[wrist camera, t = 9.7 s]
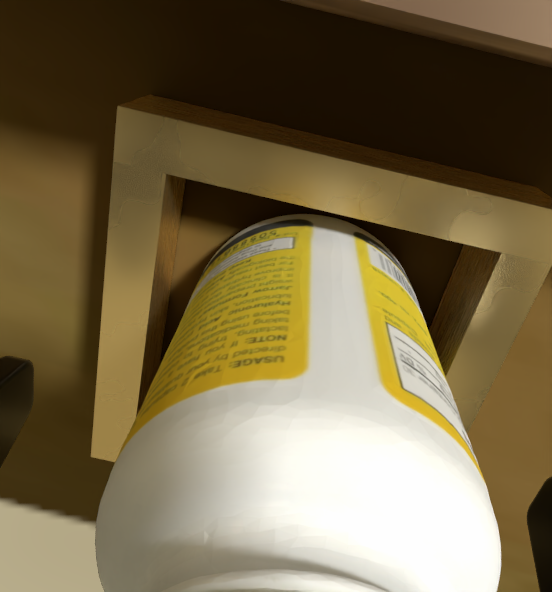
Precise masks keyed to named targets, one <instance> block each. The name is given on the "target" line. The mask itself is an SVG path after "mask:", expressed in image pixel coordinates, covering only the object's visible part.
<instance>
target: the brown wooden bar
mask: <svg viewBox="0 0 552 592" xmlns="http://www.w3.org/2000/svg"><path fill="white" fill-rule="evenodd" d="M280 1H284V2H288V3H292V4H296V5H300V6H304V7H309V8H313V9H317V10H321V11H325V12H329V13H333V14H337V15H341V16H345V17H349V18H353V19H357V20H361V21H365V22H369V23H373V24H377V25H381V26H385V27H389V28H393V29H397V30H401V31H405V32H409V33H413V34H417V35H421V36H425V37H429V38H433V39H437V40H441V41H445V42H450V43H454V44H458V45H462V46H466V47H470V48H474V49H478V50H482V51H486V52H490V53H494V54H498V55H502V56H506V57H510V58H514V59H518V60H522V61H526V62H530V63H534V64H538V65H542V66H546V67H550V68H552V0H280Z"/></svg>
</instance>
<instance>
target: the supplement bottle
mask: <svg viewBox="0 0 552 592" xmlns="http://www.w3.org/2000/svg"><path fill="white" fill-rule="evenodd" d="M95 545H96V559H97V566H98V573H99V577H100V580H101V584H102V586H103V589H104V591H105V592H496V591H497V587H498V582H499V578H500V571H501V544H500V537H499V531H498V525H497V522H496V519H495V515H494V512H493V508H492V505H491V502H490V498H489V494H488V490H487V486H486V484H485V481H484V478H483V476H482V473H481V471H480V468H479V466H478V463H477V459H476V457H475V455H474V453H473V450H472V446H471V443H470V440H469V438H468V436H467V433H466V431H465V429H464V426H463V424H462V421H461V418H460V415H459V412H458V409H457V406H456V403H455V401H454V399H453V396H452V393H451V390H450V388H449V385H448V383H447V380H446V377H445V374H444V372H443V369H442V366H441V364H440V361H439V358H438V356H437V353H436V350H435V348H434V345H433V342H432V339H431V336H430V334H429V331H428V328H427V325H426V322H425V320H424V317H423V314H422V312H421V309H420V306H419V303H418V300H417V297H416V295H415V293H414V290H413V288H412V285H411V283H410V281H409V279H408V277H407V275H406V273H405V271H404V269H403V268H402V266H401V265H400V263H399V262H398V260H397V259H396V257H395V256H394V255H393V254H392V253H391V252H390V251H389V249H388V248H387V247H386V246H385V245H384V244H383V243H382V242H380V241H379V240H378V239H377V238H375V237H374V236H373V235H371V234H370V233H368V232H367V231H365V230H363V229H361V228H359V227H358V226H355V225H353V224H351V223H349V222H346V221H343V220H340V219H337V218H333V217H328V216H323V215H314V214H293V215H285V216H279V217H274V218H271V219H267V220H264V221H261V222H259V223H256V224H254V225H252V226H250V227H248V228H246V229H244V230H242V231H241V232H239V233H238V234H236V235H235V236H234V237H232V238H231V239H230V240H229V241H227V242H226V243H225V244H224V245H223V246H222V247H221V248H220V249H219V250H218V251H217V252H216V254H215V255H214V256H213V257H212V259H211V260H210V262H209V263H208V264H207V266H206V268H205V270H204V271H203V273H202V275H201V277H200V279H199V281H198V283H197V285H196V287H195V289H194V291H193V294H192V296H191V298H190V300H189V303H188V305H187V308H186V310H185V312H184V315H183V317H182V319H181V322H180V324H179V326H178V328H177V331H176V333H175V335H174V337H173V339H172V341H171V343H170V345H169V347H168V350H167V351H166V354H165V356H164V358H163V360H162V362H161V365H160V367H159V369H158V371H157V373H156V375H155V377H154V379H153V382H152V384H151V386H150V388H149V390H148V393H147V395H146V397H145V400H144V402H143V405H142V407H141V409H140V411H139V413H138V415H137V417H136V419H135V421H134V423H133V425H132V427H131V430H130V432H129V434H128V435H127V437H126V439H125V441H124V443H123V446H122V448H121V450H120V452H119V455H118V457H117V459H116V461H115V464H114V466H113V468H112V471H111V474H110V476H109V479H108V482H107V485H106V487H105V490H104V493H103V496H102V498H101V501H100V505H99V510H98V515H97V520H96V539H95Z"/></svg>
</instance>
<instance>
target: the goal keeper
mask: <svg viewBox="0 0 552 592" xmlns="http://www.w3.org/2000/svg"><path fill="white" fill-rule="evenodd" d="M186 179H190V180H194V181H199V182H203V183H207V184H211V185H216V186H220V187H224V188H228V189H233V190H237V191H241V192H245V193H250V194H254V195H258V196H262V197H267V198H271V199H275V200H279V201H284V202H288V203H292V204H296V205H301V206H305V207H309V208H313V209H318V210H322V211H326V212H330V213H335V214H339V215H343V216H347V217H352V218H356V219H360V220H364V221H369V222H373V223H377V224H381V225H386V226H390V227H394V228H398V229H403V230H407V231H411V232H415V233H420V234H424V235H428V236H432V237H437V238H441V239H445V240H449V241H454V242H458V243H462V244H464V245H463V247H462V250H461V252H460V255H459V257H458V260H457V262H456V265H455V267H454V269H453V272H452V274H451V277H450V279H449V282H448V284H447V286H446V289H445V291H444V294H443V296H442V299H441V301H440V303H439V306H438V308H437V311H436V313H435V316H434V318H433V320H432V323H431V325H430V328H429V330H428V331H429V334H430V336H431V339H432V342H433V345H434V348H435V350H436V353H437V356H438V358H439V361H440V364H441V366H442V369H443V372H444V374H445V377H446V380H447V383H448V385H449V388H450V390H451V393H452V396H453V399H454V401H455V403H456V406H457V409H458V412H459V415H460V418H461V421H462V424H463V426H464V429H465V431H466V433H468V431H469V429H470V427H471V425H472V423H473V421H474V419H475V417H476V415H477V413H478V411H479V409H480V407H481V405H482V403H483V401H484V399H485V397H486V395H487V393H488V391H489V389H490V387H491V385H492V383H493V381H494V379H495V377H496V375H497V373H498V371H499V369H500V367H501V365H502V363H503V361H504V359H505V357H506V355H507V353H508V352H509V350H510V348H511V346H512V344H513V342H514V340H515V338H516V336H517V334H518V332H519V330H520V328H521V326H522V324H523V322H524V320H525V318H526V316H527V314H528V312H529V310H530V308H531V306H532V304H533V302H534V300H535V298H536V296H537V294H538V292H539V290H540V288H541V286H542V284H543V282H544V280H545V278H546V276H547V274H548V272H549V270H550V268H551V266H552V198H551V197H549V196H548V195H547V194H545V193H544V192H542V191H541V190H539V189H538V188H537V187H533V186H529V185H525V184H521V183H517V182H512V181H508V180H504V179H500V178H496V177H492V176H487V175H483V174H479V173H475V172H471V171H467V170H462V169H458V168H454V167H450V166H446V165H442V164H438V163H433V162H429V161H425V160H421V159H417V158H413V157H408V156H404V155H400V154H396V153H392V152H388V151H383V150H379V149H375V148H371V147H367V146H363V145H358V144H354V143H350V142H346V141H342V140H338V139H333V138H329V137H325V136H321V135H317V134H313V133H308V132H304V131H300V130H296V129H292V128H288V127H283V126H279V125H275V124H271V123H267V122H263V121H258V120H254V119H250V118H246V117H242V116H238V115H233V114H229V113H225V112H221V111H217V110H213V109H208V108H204V107H200V106H196V105H192V104H188V103H184V102H179V101H175V100H171V99H167V98H163V97H159V96H154V95H147V96H144V97H141V98H138V99H135V100H132V101H130V102H127V103H124V104H121V105H118V106H117V118H116V131H115V144H114V157H113V171H112V184H111V197H110V210H109V223H108V236H107V249H106V263H105V276H104V289H103V302H102V315H101V328H100V342H99V355H98V368H97V381H96V394H95V407H94V421H93V434H92V447H91V457H93V458H98V459H103V460H107V461H112V462H115V461H116V459H117V457H118V455H119V452H120V450H121V448H122V446H123V443H124V441H125V439H126V437H127V435H128V434H129V432H130V430H131V427H132V425H133V423H134V421H135V419H136V417H137V415H138V413H139V411H140V409H141V407H142V405H143V402H144V400H145V397H146V395H147V393H148V390H149V388H150V386H151V384H152V382H153V379H154V377H155V375H156V373H157V371H158V369H159V366H160V359H161V352H162V345H163V337H164V330H165V323H166V316H167V309H168V302H169V295H170V288H171V281H172V274H173V267H174V260H175V253H176V246H177V238H178V231H179V224H180V217H181V210H182V203H183V196H184V189H185V182H186Z"/></svg>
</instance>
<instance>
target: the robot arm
mask: <svg viewBox="0 0 552 592" xmlns="http://www.w3.org/2000/svg"><path fill="white" fill-rule="evenodd" d="M33 398H34V367H33V364H32V362H31V361H29V360H26V359H22V358H17V357H13V356H5V357H2V358H0V468H1V466H2V464H3V462H4V460H5V458H6V456H7V454H8V453H9V451H10V449H11V447H12V445H13V443H14V441H15V440H16V438H17V436H18V434H19V432H20V430H21V428H22V426H23V425H24V423H25V421H26V419H27V417H28V415H29V413H30V411H31V408H32V405H33ZM527 525H528V530H529V535H530V541H531V546H532V551H533V557H534V562H535V567H536V573H537V578H538V583H539V589H540V592H552V477H550V478H548V479H547V480H546V481H545V482H544V484H543V486H542V487H541V489H540V490H539V492H538V494H537V495H536V497H535V498H534V500H533V502H532V503H531V505H530V507H529V509H528V512H527Z"/></svg>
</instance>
